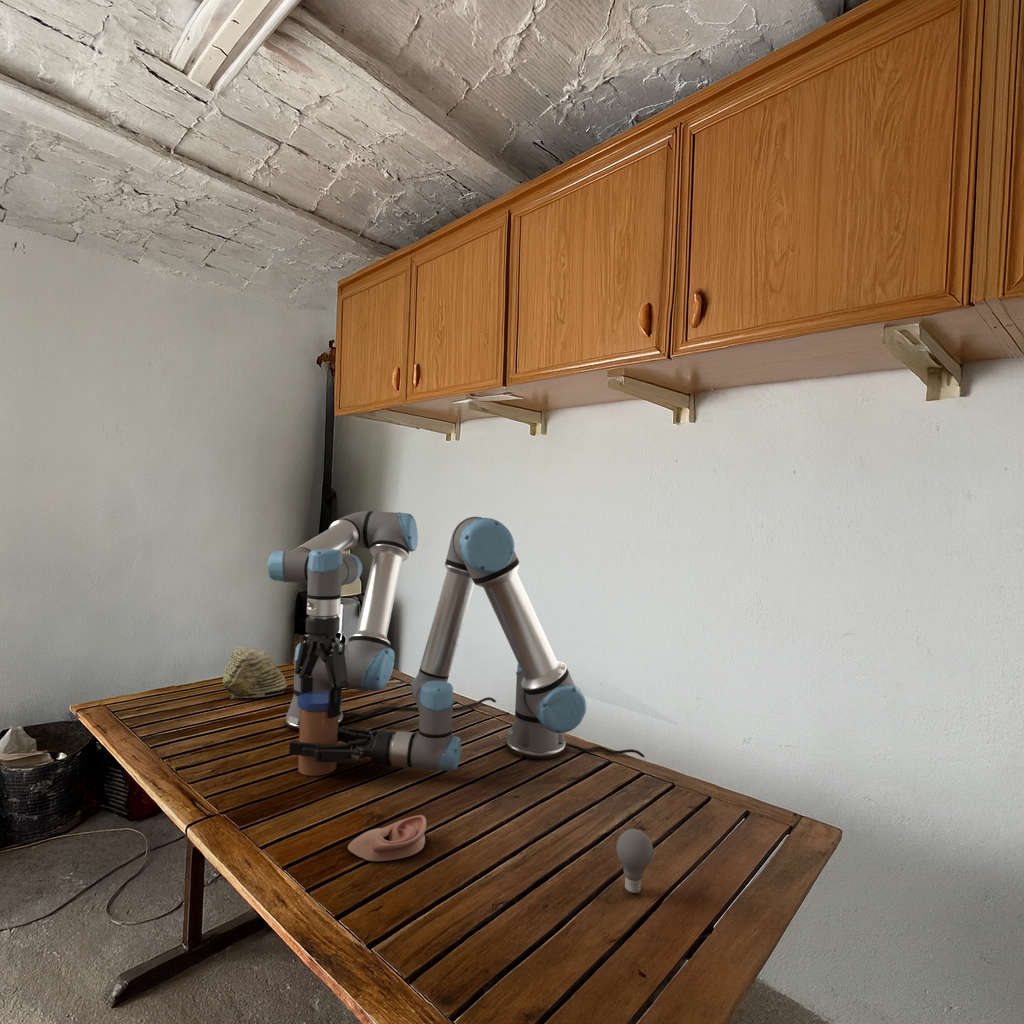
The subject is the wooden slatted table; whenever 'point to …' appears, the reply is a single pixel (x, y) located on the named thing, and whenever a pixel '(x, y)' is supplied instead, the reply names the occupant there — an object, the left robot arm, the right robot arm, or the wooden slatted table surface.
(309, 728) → the jar
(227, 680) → the fossil
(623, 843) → the light bulb
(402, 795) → the wooden slatted table surface
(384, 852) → the anatomical model
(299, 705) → the lid
